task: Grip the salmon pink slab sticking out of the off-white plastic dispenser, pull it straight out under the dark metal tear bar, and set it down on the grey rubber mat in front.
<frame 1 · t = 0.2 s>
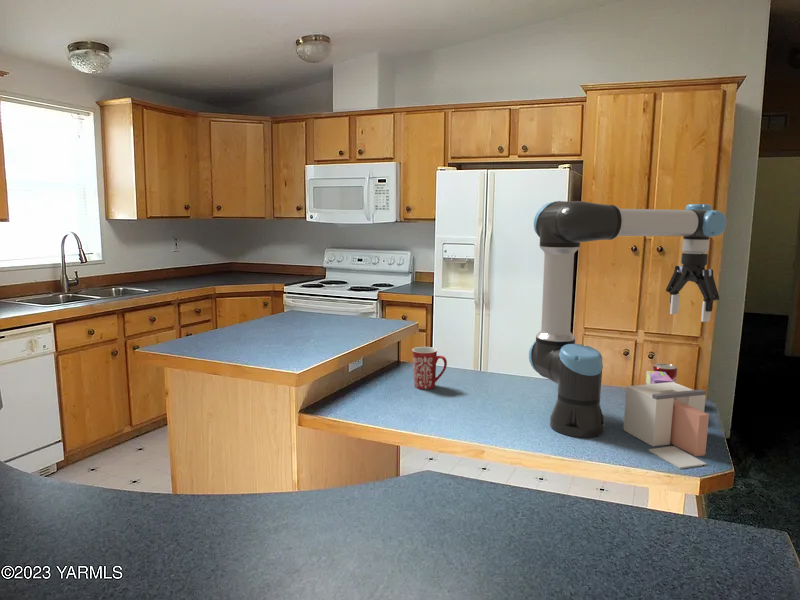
hand: (689, 317, 186), 28 cm above the countertop, fingers open, 13 cm apart
soda can: (662, 401, 188), on the countertop
mug: (428, 387, 201), on the countertop
dispenser: (661, 434, 159), on the countertop
salmon pink slab: (682, 446, 152), on the countertop
box: (656, 412, 178), on the countertop
mat: (676, 457, 144), on the countertop
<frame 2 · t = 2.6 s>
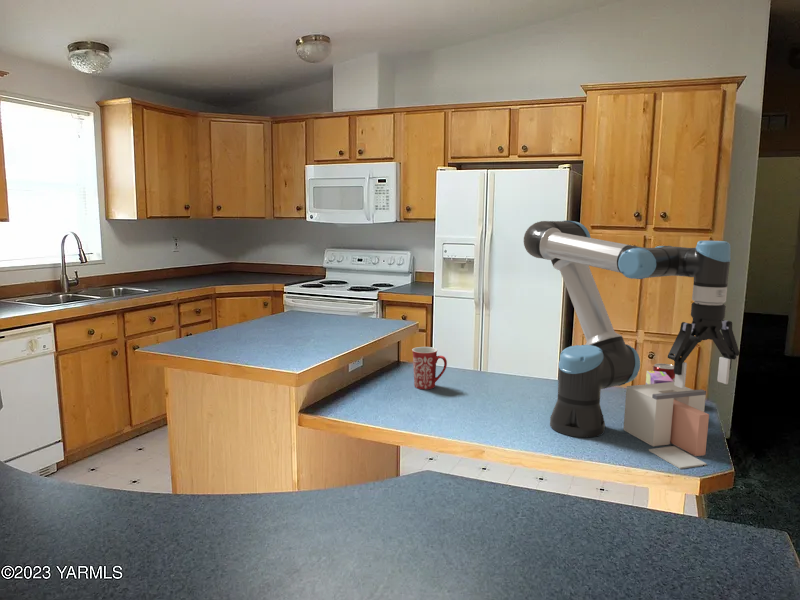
hand: (701, 384, 145), 18 cm above the countertop, fingers open, 13 cm apart
nothing on the countertop moved.
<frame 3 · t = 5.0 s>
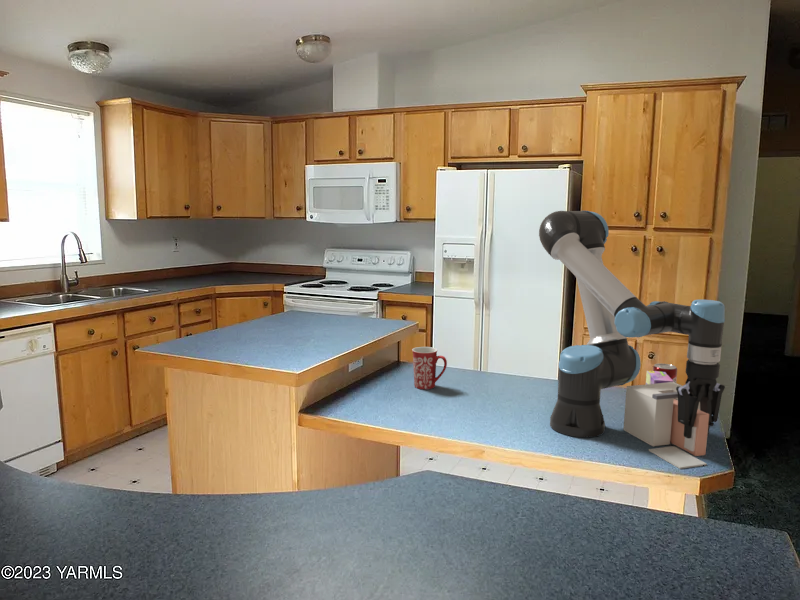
hand: (694, 448, 148), 1 cm above the countertop, fingers closed on salmon pink slab, 3 cm apart
salmon pink slab: (683, 446, 152), on the countertop, touching gripper
everything else where it was.
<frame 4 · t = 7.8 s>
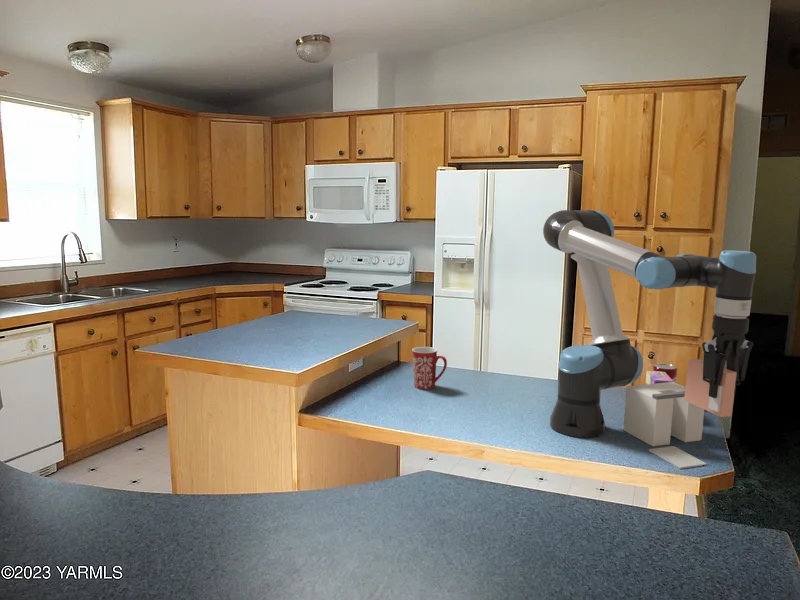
hand: (720, 409, 139), 14 cm above the countertop, fingers closed on salmon pink slab, 3 cm apart
salmon pink slab: (706, 407, 143), point 13 cm above the countertop, touching gripper
everything else where it was.
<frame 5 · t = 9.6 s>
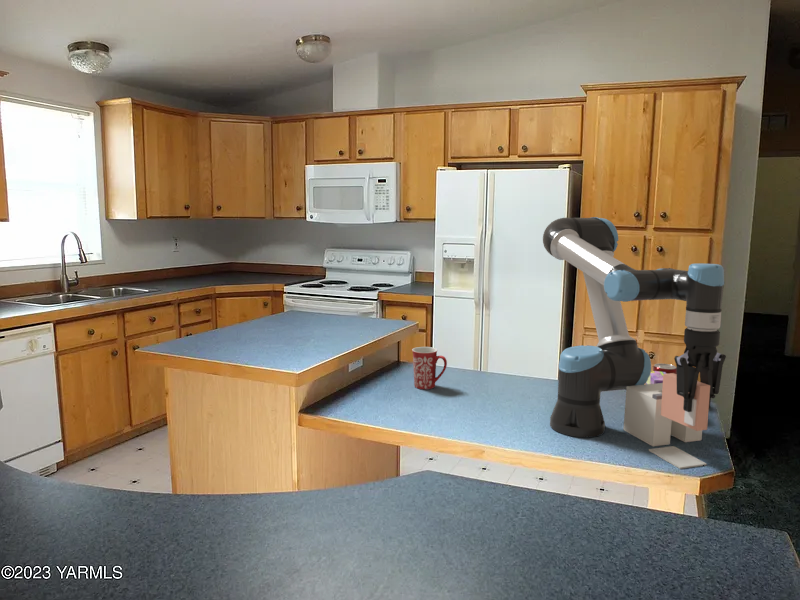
hand: (695, 423, 138), 11 cm above the countertop, fingers closed on salmon pink slab, 3 cm apart
salmon pink slab: (683, 422, 142), point 10 cm above the countertop, touching gripper
everything else where it was.
when the fingers open (3 cm above the countertop, at t = 10.9 s): salmon pink slab drops 1 cm, resting on mat.
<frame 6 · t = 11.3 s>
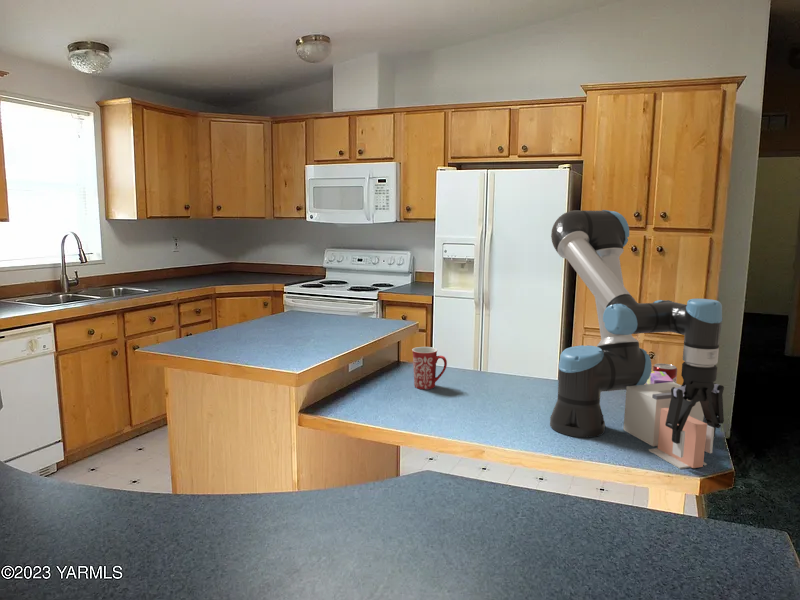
hand: (692, 453, 140), 3 cm above the countertop, fingers open, 8 cm apart
salmon pink slab: (679, 457, 144), resting on mat
everything else where it was.
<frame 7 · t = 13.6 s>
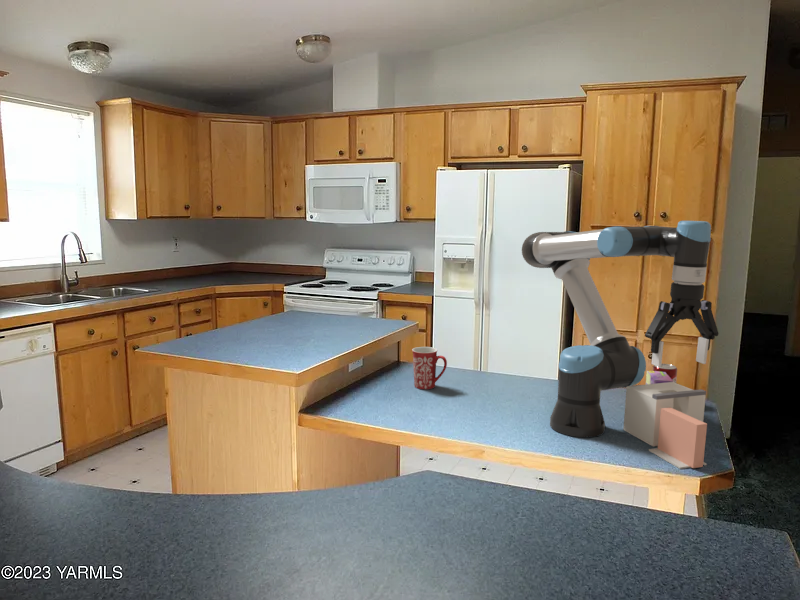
hand: (678, 364, 146), 23 cm above the countertop, fingers open, 13 cm apart
nothing on the countertop moved.
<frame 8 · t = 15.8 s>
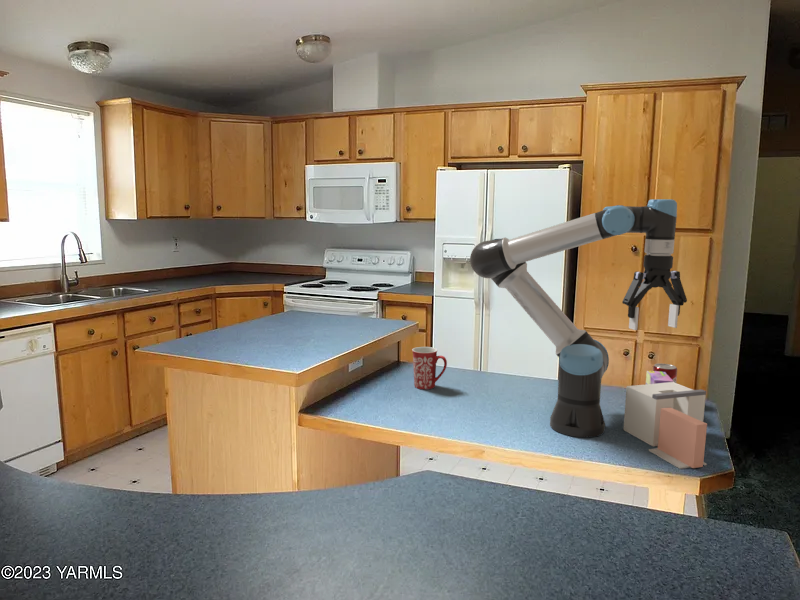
hand: (652, 328, 164), 29 cm above the countertop, fingers open, 13 cm apart
nothing on the countertop moved.
at the end: salmon pink slab inside the target area on the mat (0.7 cm from its centre), point 0.4 cm above the mat's base; salmon pink slab touching mat; the gripper is holding nothing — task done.
